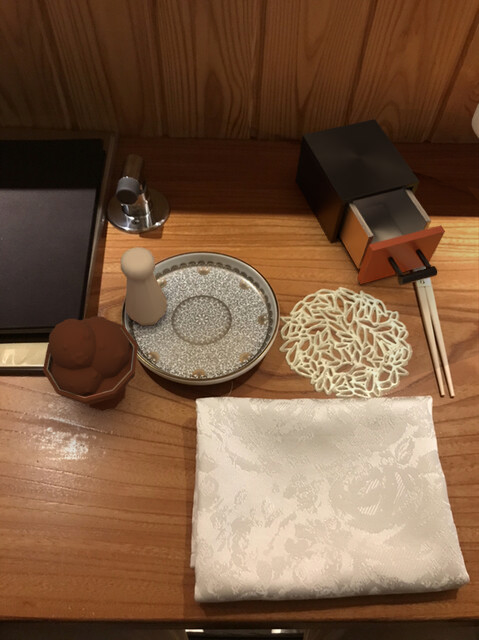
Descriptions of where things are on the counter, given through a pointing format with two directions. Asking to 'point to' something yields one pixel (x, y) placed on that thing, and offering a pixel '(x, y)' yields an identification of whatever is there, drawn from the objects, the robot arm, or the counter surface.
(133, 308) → the salt shaker
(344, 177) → the black drawer cabinet
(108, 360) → the ice cream bowl
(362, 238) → the red drawer
